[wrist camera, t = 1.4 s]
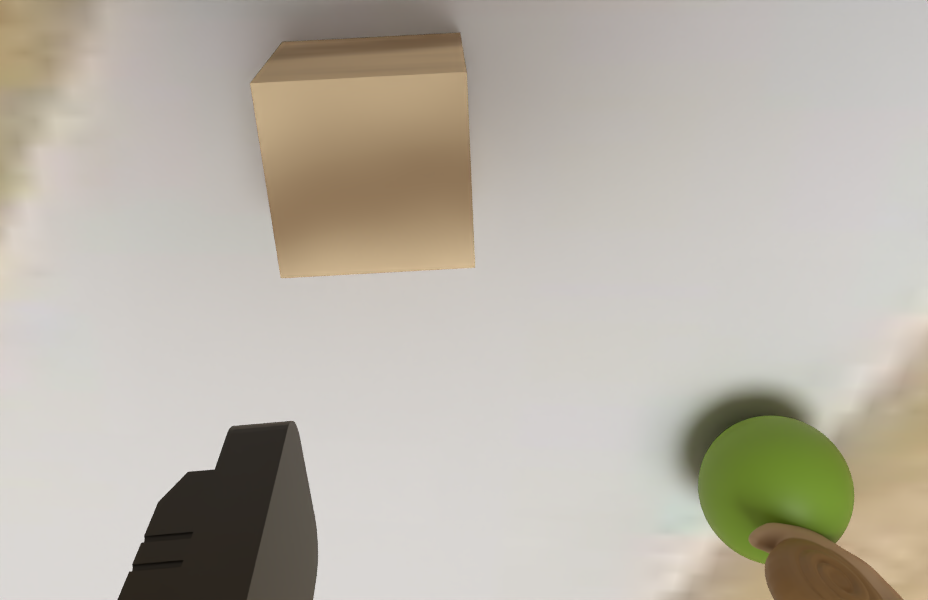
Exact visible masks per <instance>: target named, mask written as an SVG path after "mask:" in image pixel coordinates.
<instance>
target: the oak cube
mask: <svg viewBox="0 0 928 600" xmlns="http://www.w3.org/2000/svg"><path fill="white" fill-rule="evenodd" d="M250 86H251V92H252V99H253V105H254V111H255V118H256V124H257V130H258V137H259V143H260V149H261V156H262V162H263V168H264V175H265V181H266V187H267V194H268V200H269V206H270V213H271V219H272V225H273V232H274V238H275V244H276V251H277V257H278V263H279V270H280V276H281V278H294V277H312V276H330V275H349V274H367V273H385V272H403V271H421V270H439V269H457V268H475V255H474V232H473V208H472V185H471V161H470V138H469V114H468V91H467V71H466V65H465V59H464V53H463V47H462V41H461V35H460V33H443V34H424V35H404V36H385V37H366V38H347V39H328V40H309V41H289V42H282V43H281V44H280V46H279V47H278V48H277V49H276V51H275V52H274V53H273V55H272V56H271V57H270V58H269V60H268V61H267V62H266V64H265V65H264V66H263V67H262V69H261V70H260V71H259V73H258V74H257V75H256V76H255V78H254V79H253V80H252V82H251V83H250Z"/></svg>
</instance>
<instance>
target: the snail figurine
mask: <svg viewBox="0 0 928 600" xmlns="http://www.w3.org/2000/svg"><path fill="white" fill-rule="evenodd" d="M698 493H699V499H700V504H701V507H702V510H703V513H704V515H705V518H706V520H707V521H708V523H709V525H710V527H711V528H712V530H713V531H714V532H715V534H716V535H717V536H718V537H719V538H720V539H721V540H722V541H723V542H724V543H725V544H726V545H727V546H728V547H730V548H731V549H732V550H734V551H735V552H737V553H738V554H740V555H742V556H744V557H746V558H748V559H750V560H753V561H756V562H759V563H763V564H765V577H766V581H767V585H768V588H769V590H770V592H771V594H772V596H773V598H774V600H903V599H902V598H901V596H900V595H899V594H898V593H897V592H896V591H895V590H894V589H893V588H892V587H891V586H890V585H889V584H888V583H887V582H886V581H885V580H884V579H883V578H882V577H881V576H880V575H879V574H878V573H877V572H876V571H875V570H874V569H873V568H872V567H871V566H869V565H868V564H867V563H866V562H864V561H863V560H861V559H860V558H858V557H857V556H855V555H853V554H851V553H849V552H848V551H846V550H844V549H843V548H841V547H840V546H838V545H837V544H835V543H836V542H837V541H838V540H839V539H840V537H841V536H842V535H843V533H844V531H845V530H846V528H847V526H848V524H849V521H850V518H851V515H852V511H853V505H854V487H853V481H852V477H851V473H850V471H849V468H848V466H847V463H846V461H845V459H844V458H843V456H842V454H841V453H840V451H839V450H838V449H837V447H836V446H835V445H834V444H833V443H832V442H831V441H830V440H829V439H828V438H827V437H826V436H825V435H824V434H822V433H821V432H820V431H818V430H817V429H815V428H813V427H812V426H810V425H808V424H806V423H804V422H801V421H799V420H796V419H792V418H788V417H783V416H758V417H753V418H749V419H746V420H743V421H740V422H738V423H736V424H734V425H732V426H731V427H729V428H728V429H726V430H725V431H724V432H722V433H721V434H720V435H719V436H718V437H717V438H716V439H715V440H714V442H713V443H712V444H711V446H710V447H709V449H708V450H707V452H706V454H705V456H704V458H703V461H702V464H701V467H700V471H699V478H698Z"/></svg>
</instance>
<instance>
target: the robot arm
mask: <svg viewBox="0 0 928 600" xmlns="http://www.w3.org/2000/svg"><path fill="white" fill-rule="evenodd" d="M144 537H145V541H144V543H141V545H140V547H139V550H138V552H137V554H136V557H135V559H134V562H133V564H132V565H133V570H132V572H129V574H128V576H127V578H126V581H125V583H124V586H123V588H122V590H121V593H120V595H119V598H118V600H313V596H314V590H315V583H316V576H317V566H318V541H317V528H316V521H315V515H314V510H313V505H312V499H311V494H310V489H309V483H308V478H307V473H306V468H305V462H304V457H303V452H302V446H301V441H300V436H299V432H298V429H297V426H296V424H295V422H294V421H286V422H274V423H263V424H251V425H239V426H232V427H231V428H230V429H229V431H228V433H227V436H226V439H225V442H224V444H223V447H222V450H221V453H220V456H219V459H218V462H217V465H216V468H215V470H205V471H193V472H187V473H186V475H185V476H184V477H183V478H182V479H181V480H180V481H179V482H178V483H177V484H176V485H175V486H174V487H173V488H172V489H171V490H170V491H169V492H168V493H167V494H166V495H165V496H164V497H163V498H162V499H161V500H160V501H159V502H158V504H157V507H156V509H155V511H154V514H153V516H152V519H151V521H150V523H149V526H148V528H147V531H146V533H145V535H144Z"/></svg>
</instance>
